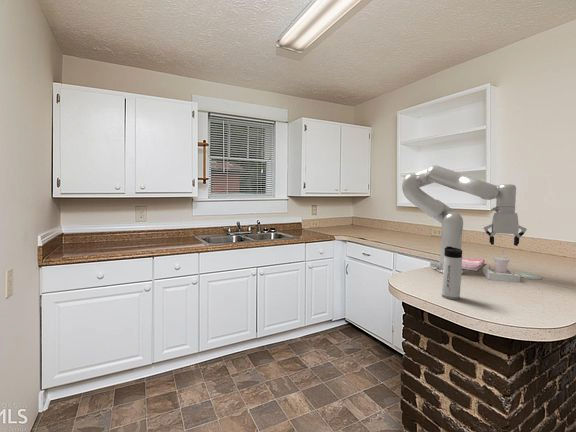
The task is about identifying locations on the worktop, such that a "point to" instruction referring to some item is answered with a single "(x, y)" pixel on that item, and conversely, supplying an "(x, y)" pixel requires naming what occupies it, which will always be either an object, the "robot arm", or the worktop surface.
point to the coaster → (529, 276)
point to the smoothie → (501, 264)
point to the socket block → (500, 275)
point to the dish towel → (472, 264)
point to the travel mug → (452, 273)
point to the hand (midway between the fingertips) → (503, 244)
